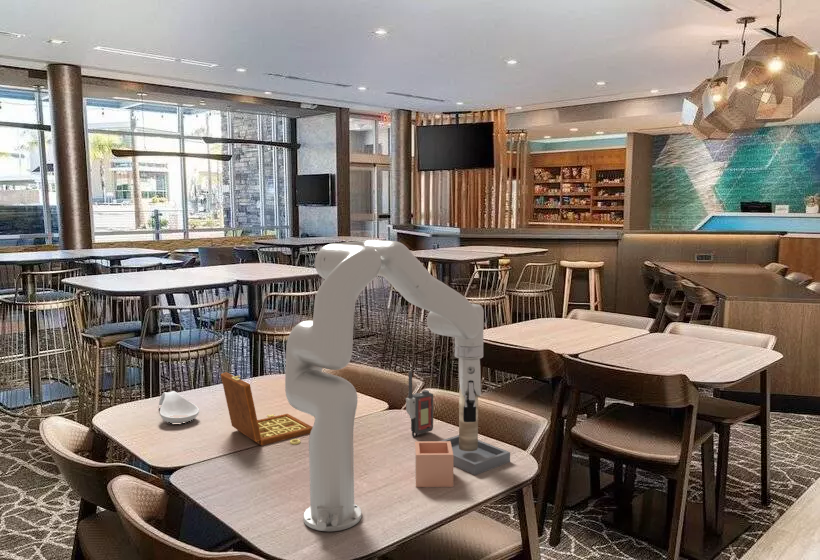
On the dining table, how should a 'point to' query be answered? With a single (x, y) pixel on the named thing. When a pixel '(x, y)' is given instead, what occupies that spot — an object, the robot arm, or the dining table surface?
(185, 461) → the dining table surface
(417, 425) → the walkie-talkie
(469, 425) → the birch dowel
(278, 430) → the game set
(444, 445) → the terracotta box
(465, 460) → the charcoal tray
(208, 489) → the dining table surface
